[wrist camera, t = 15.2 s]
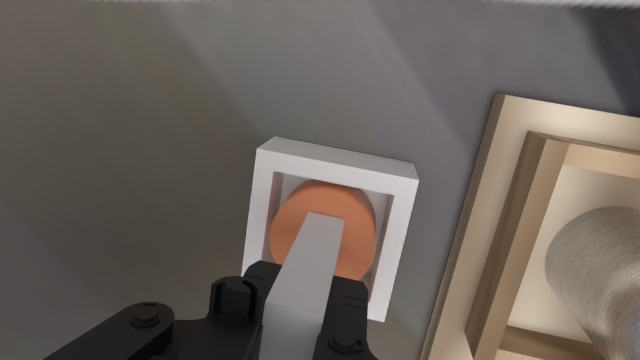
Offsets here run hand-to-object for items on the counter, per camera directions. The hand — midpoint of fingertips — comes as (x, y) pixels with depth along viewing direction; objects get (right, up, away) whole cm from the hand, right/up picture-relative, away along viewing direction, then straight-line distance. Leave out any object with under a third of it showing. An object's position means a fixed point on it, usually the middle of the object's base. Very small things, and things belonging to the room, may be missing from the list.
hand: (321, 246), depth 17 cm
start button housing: (+1, +1, +4) cm, 4 cm away
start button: (0, +1, +3) cm, 3 cm away
